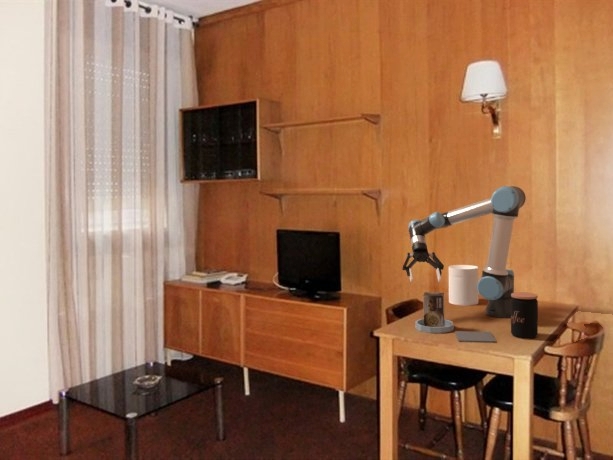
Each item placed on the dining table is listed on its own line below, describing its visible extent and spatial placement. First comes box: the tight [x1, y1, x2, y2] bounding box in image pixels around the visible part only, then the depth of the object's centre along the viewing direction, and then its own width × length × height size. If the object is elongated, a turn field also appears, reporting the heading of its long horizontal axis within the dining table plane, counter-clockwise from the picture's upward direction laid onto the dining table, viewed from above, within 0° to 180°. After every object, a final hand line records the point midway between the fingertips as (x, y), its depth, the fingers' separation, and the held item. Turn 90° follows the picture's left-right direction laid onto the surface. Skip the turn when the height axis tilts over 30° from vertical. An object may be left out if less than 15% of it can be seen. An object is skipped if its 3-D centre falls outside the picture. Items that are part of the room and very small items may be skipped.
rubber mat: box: [454, 330, 497, 343], centre depth 220 cm, size 15×14×1 cm
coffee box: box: [422, 291, 446, 327], centre depth 236 cm, size 9×6×16 cm
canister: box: [448, 264, 479, 306], centre depth 287 cm, size 16×16×20 cm
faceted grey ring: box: [414, 318, 455, 334], centre depth 237 cm, size 17×17×2 cm
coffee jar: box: [510, 291, 539, 340], centre depth 220 cm, size 11×11×18 cm
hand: (425, 280), depth 248 cm, fingers open, 13 cm apart
